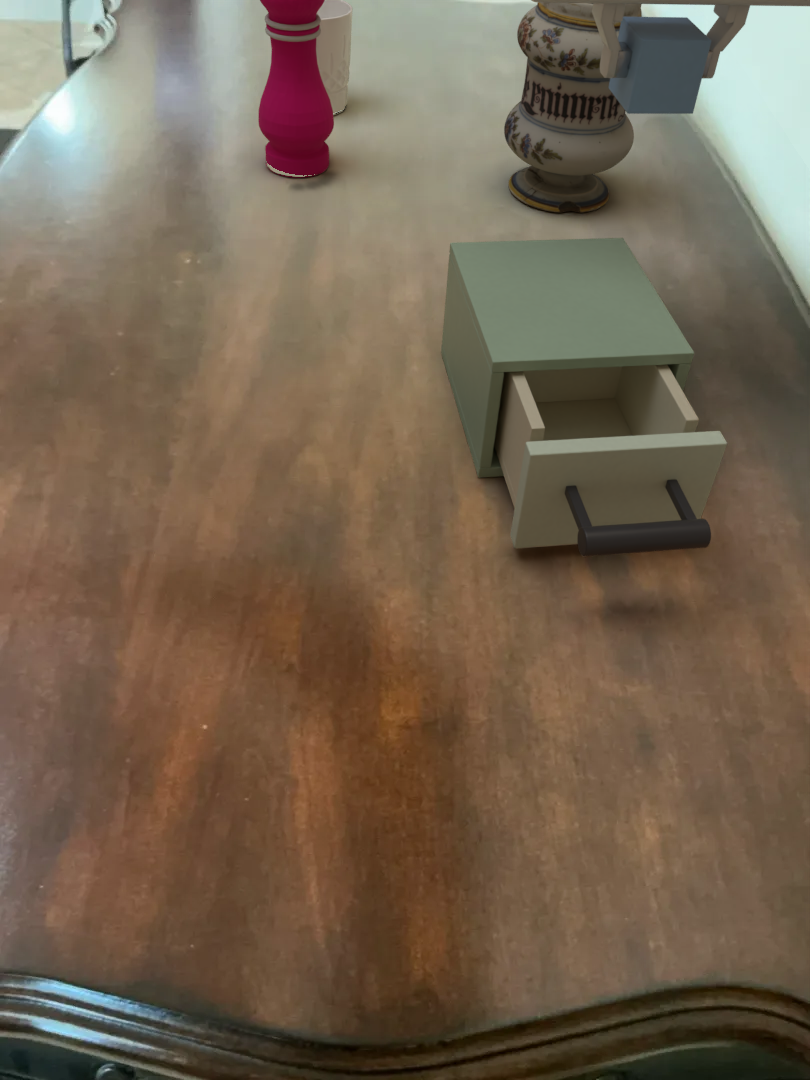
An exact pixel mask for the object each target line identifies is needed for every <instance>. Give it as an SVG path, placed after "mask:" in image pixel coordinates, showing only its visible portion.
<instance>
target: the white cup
mask: <svg viewBox="0 0 810 1080" xmlns="http://www.w3.org/2000/svg"><path fill="white" fill-rule="evenodd" d="M353 9H354V8H353V6H352V5H351V4H350V3H349V2H348V1H345V0H325V1H324V3H323V5H322V6H321V7H320V9H319V10H318V12H317V15H318V16H319V17H320V19H321V22H320V24H319V25H320V29H321V33H320V35H319V36H318V37H316V55H317V64H318V68H319V72H320V76H321V79H322V81H323V84H324V87H325V89H326V91H327V94H328V96H329V98H330V102H331V106H332V110H333V113H335V112H338V111H340V110H343V109H344V108H345V106H346V104H347V105H348V95H349V93H348V92H349V81H350V67H351V52H352V31H353V29H352V28H353ZM346 107H347V106H346ZM345 109H346V108H345ZM342 112H343V111H341V112H339V113H337V114H334V115H333V116H336V115H338V114H341V113H342Z"/></svg>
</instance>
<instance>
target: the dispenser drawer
mask: <svg viewBox="0 0 810 1080" xmlns="http://www.w3.org/2000/svg"><path fill="white" fill-rule="evenodd" d="M699 421H700V419H699V417H698V415H697V413H696V411H695V410H694V408H693V407H692V404H691V403H690V402H689V400H688V398H687V396H686V394H685V393H684V390H683V391H682V389H681V387H680V386H679V384H678V382H677V380H676V379H675V377H674V375H673V374H672V372H671V370H670V368H669V367H668V365H667V364H665V365H644V366H623V367H601V368H580V369H559V370H537V371H516V372H504V377H503V384H502V391H501V398H500V406H499V413H498V420H497V427H496V434H495V441H494V447H495V450H496V453H497V456H498V459H499V462H500V465H501V468H502V471H503V474H504V476H503V477H504V480H505V483H506V486H507V487H506V488H507V489H508V492H509V496H510V499H511V502H512V505H513V508H514V510H513V515H512V521H511V522H512V523H511V527H510V532H509V533H510V534H509V536H510V539H511V543H512V546H513V548H514V549H529V548H540V547H541V548H542V547H555V546H556V547H557V546H569V545H571V546H572V545H577V548H578V551H579V555H581V556H582V557H583V558H584V557H598V556H599V557H600V556H611V555H624V554H625V555H626V554H639V553H652V552H653V553H654V552H665V551H666V552H667V551H681V550H693V549H695V550H696V549H705V548H707V547H709V545H710V544H711V539H712V530H711V525H710V524H709V522H708V520H707V519H706V518H702V517H703V513H704V511H705V508H706V505H707V502H708V499H709V497H710V493H711V491H712V488H713V486H714V482H715V480H716V477H717V474H718V472H719V468H720V465H721V463H722V460H723V457H724V454H725V452H726V449H727V445H728V441H727V440H726V439H725V437H724V435H723V434H722V432H721V431H720V430H708V431H696V430H697V427H698V424H699Z"/></svg>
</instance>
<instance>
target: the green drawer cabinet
mask: <svg viewBox="0 0 810 1080" xmlns="http://www.w3.org/2000/svg"><path fill="white" fill-rule="evenodd" d="M447 263H448V265H447V278H446V286H445V287H446V288H445V289H446V290H445V300H444V311H443V312H444V313H443V325H442V334H441V335H442V336H441V348H440V354H441V357H442V361H443V364H444V367H445V368H444V369H445V371H446V374H447V378H448V382H449V385H450V388H451V391H452V394H453V398H454V401H455V406H456V408H457V411H458V415H459V418H460V421H461V425H462V429H463V431H464V435H465V437H466V442H467V445H468V447H469V452H470V455H471V458H472V461H473V466H474V468H475V472H476V474H477V478H478V479H479V478H481V479H482V478H495V477H504V474H503V471H502V468H501V465H500V462H499V459H498V456H497V453H496V450H495V447H494V441H495V434H496V427H497V420H498V413H499V406H500V398H501V391H502V384H503V377H504V372H516V371H537V370H559V369H580V368H601V367H623V366H644V365H665V364H667V365H668V367H669V368H670V370H671V372H672V374H673V375H674V377H675V379H676V380H677V382H678V384H679V386H680V387H681V389H682V391H683V392H684V390H685V386H686V383H687V379H688V376H689V373H690V369H691V366H692V362H693V359H694V355H695V351H694V350H693V348H692V346H691V345H690V343H689V342H688V340H687V339H686V336H685V335H684V333H683V332H682V330H681V329H680V327H679V325H678V324H677V322H676V320H675V319H674V317H673V316H672V313H670V312H669V310H668V308H667V306H666V304H665V303H664V302H663V300H662V297H660V295H659V293H658V291H657V290H656V288H655V287H654V285H653V283H652V282H651V280H650V279H649V277H648V275H647V274H646V272H645V270H644V269H643V268H642V266H641V264H640V262H639V261H638V260H637V258H636V257H635V255H634V253H633V251H632V250H631V248H630V247H629V245H628V243H627V242H626V240H625V239H624V238H623V237H604V238H603V237H602V238H600V237H599V238H567V239H565V238H563V239H533V240H499V241H497V240H496V241H495V240H494V241H463V242H462V241H461V242H460V241H459V242H458V241H457V242H450V243H449V254H448V262H447Z"/></svg>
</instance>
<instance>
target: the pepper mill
mask: <svg viewBox="0 0 810 1080" xmlns="http://www.w3.org/2000/svg"><path fill="white" fill-rule="evenodd" d="M259 1H260V3H261V5H262V6H263V7H264V8H265V9H266V11H267V13H266V14H265V16H264V21H265V23H266V24H265V29H264V31H265V34H266V35H267V36H269V37H270V38H269V39H270V47H271V54H270V55H271V56H270V67H269V72H268V77H267V79H266V83H265V86H264V89H263V92H262V94H261V98H260V102H259V107H258V127H259V129H260V132H261V133H262V135H263V136H264V137H265V139H266V140H267V141H268V142H267V143H266V145H265V148H264V151H265V153H264V154H265V162H266V161H267V163H268V164H269V165H271V166H272V167H273V168H275V169H277V170H279V171H283V172H285V173H289V174H295V175H303V176H304V175H307V176H305V177H292V176H285V175H281V174H277V173H275V172H273V171H271V170H270V169H269V168H268V170H269V171H271V172H272V173H273V174H276V175H278V176H282V177H286V178H293V179H298V178H300V179H302V178H311V177H315V176H318V175H320V174H323V173H324V172H325V171H326V170H328V168H329V167H330V146H329V145H328V143H327V142H326V140H328V138H329V137H330V135H331V134H332V132H333V130H334V125H335V119H334V115H333V110H332V106H331V102H330V98H329V96H328V94H327V91H326V89H325V87H324V84H323V81H322V79H321V76H320V72H319V68H318V64H317V55H316V37H318V36H319V35H320V33H321V29H320V25H319V24H320V22H321V19H320V17H319V16H318V15H317V12H318V10H319V9H320V7H321V6H322V5H323V3H324V1H325V0H259ZM314 174H315V175H314ZM308 175H312V176H308Z"/></svg>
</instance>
